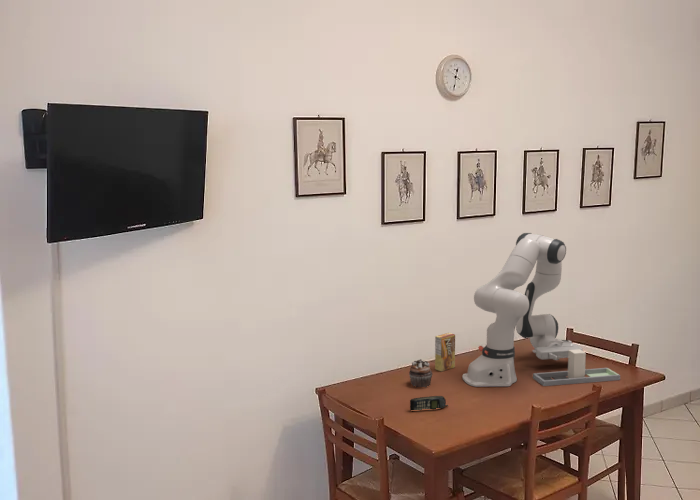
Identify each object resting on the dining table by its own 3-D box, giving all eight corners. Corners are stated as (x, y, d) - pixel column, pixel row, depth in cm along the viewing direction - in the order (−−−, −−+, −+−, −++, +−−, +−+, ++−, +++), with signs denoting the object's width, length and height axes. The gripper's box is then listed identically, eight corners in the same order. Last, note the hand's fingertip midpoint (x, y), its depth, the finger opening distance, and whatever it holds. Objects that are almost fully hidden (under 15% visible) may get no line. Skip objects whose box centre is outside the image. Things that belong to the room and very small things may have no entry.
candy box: (448, 365, 299) (448, 332, 297) (455, 367, 296) (455, 334, 293) (434, 369, 293) (434, 335, 291) (441, 371, 290) (441, 337, 288)
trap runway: (543, 386, 271) (543, 381, 270) (532, 378, 280) (532, 373, 280) (620, 379, 276) (620, 375, 276) (606, 372, 286) (607, 367, 286)
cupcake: (404, 385, 275) (404, 361, 273) (418, 378, 282) (418, 356, 280) (423, 390, 268) (423, 366, 267) (437, 383, 275) (437, 360, 274)
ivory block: (573, 381, 275) (574, 353, 274) (567, 377, 280) (568, 350, 278) (584, 380, 276) (585, 352, 274) (578, 376, 281) (579, 349, 279)
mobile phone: (411, 400, 245) (449, 396, 248) (408, 397, 248) (447, 393, 251) (411, 413, 246) (450, 408, 249) (409, 410, 249) (447, 405, 252)
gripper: (530, 343, 296) (545, 352, 282) (573, 340, 299) (589, 349, 286) (530, 356, 297) (544, 366, 283) (573, 353, 300) (589, 363, 287)
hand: (567, 357), depth 284 cm, fingers open, 8 cm apart
